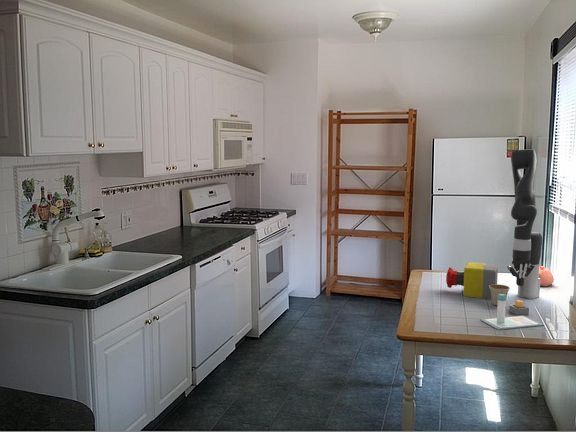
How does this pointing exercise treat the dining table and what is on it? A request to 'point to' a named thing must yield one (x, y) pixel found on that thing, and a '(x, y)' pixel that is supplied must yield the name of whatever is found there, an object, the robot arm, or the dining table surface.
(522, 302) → the button
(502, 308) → the marker
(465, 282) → the emergency stop button
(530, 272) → the robot arm
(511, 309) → the button housing
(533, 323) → the placemat
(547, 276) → the piggy bank
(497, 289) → the flower pot
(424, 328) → the dining table surface
